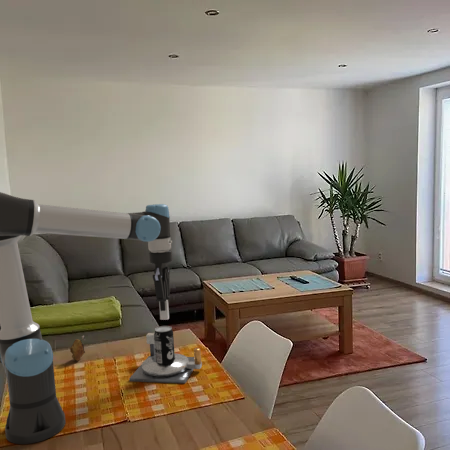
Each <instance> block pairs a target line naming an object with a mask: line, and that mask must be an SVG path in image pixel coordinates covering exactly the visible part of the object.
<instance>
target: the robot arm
mask: <svg viewBox="0 0 450 450" xmlns="http://www.w3.org/2000/svg"><path fill="white" fill-rule="evenodd" d="M170 219H171V216H170V209H169V207H168V205H167V204H164V203H156V204H148V205H146V206H145V211H140V212H128V213H127V212H126V213H125V212H116V211H115V212H114V211H106V210H99V209H98V210H96V209H86V208H78V207H68V206H60V205H59V206H57V205H51V204H50V205H49V204H38V202H37V201H36V200H34V199H30V198H29V199H27V198H22V197H17V196H15V195H14V196H13V195H10V194H7V193H5V192H1V191H0V363H1V365H2V367H3V369H4V373H5V375H6V382H7V389H8V391H7V392H8V399H9V409H8V415H7V418H6V423H5V427H4V429H5V430H4V432H5V437H6V438H5V439H6V440H7V441H8V442H10V443H12V444H16V445H29V444H35V443H39V442H42V441H45V440H48V439H50V438H52V437H53V436H56V435H58V434H59V433H60V432H61V431H63V429H64V427H65V425H66V414H65V412H64V410H63V408H62V406H61V403H60V401H59V400H58V397H57V391H56V389H57V388H56V381H55V380H56V379H55V368H54V353H53V352H54V351H53V350H52V349H53V348H52V346H51V344H50V343H49V341H47V340H44V339H43V338H42V337H43V336H42V331H41V327H40V324H39V323H37V322H35V321H34V320H33V316H32V310H31V305H30V301H29V295H28V290H27V285H26V280H25V275H24V270H23V265H22V260H21V259H22V258H21V254H20V248H19V245H18V242H19V241H20V239H21V238H22V236H24V237H31V236H33V235H34V234H35V233H38V234H51V235H52V234H53V235H66V236H76V237H77V236H78V237H81V236H82V237H91V238H92V237H93V238H95V237H96V238H107V239H120V240H123V239H124V240H133V241H141V242H147V246H148V247H147V248H148V250H149V252H148V255H149V256H148V257H149V258H148V259H149V263H150V264H154V270H153V271H154V272H153V273H154V274H152V279H153V283H154V290H155V296H156V297H155V298H156V300H155V301H156V302H158V303H159V304H158V305H159V306H158V307H159V320H161V321H162V320H163V321H164V320H165V321H166V320H167V321H168V320H169V319H170V311H169V310H170V308H169V300H170V299H171V296H170V294H171V293H170V290H171V289H170V284H171V283H170V281H171V280H170V277H171V276H170V274H171V273H170V272H171V267H170V266H168V263H170V262H172V260H173V254H172V253H173V252H172V250H171V249H172V244H173V239H172V238H171V225H170V224H171V223H170V222H171V221H170ZM171 239H172V240H171Z"/></svg>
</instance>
